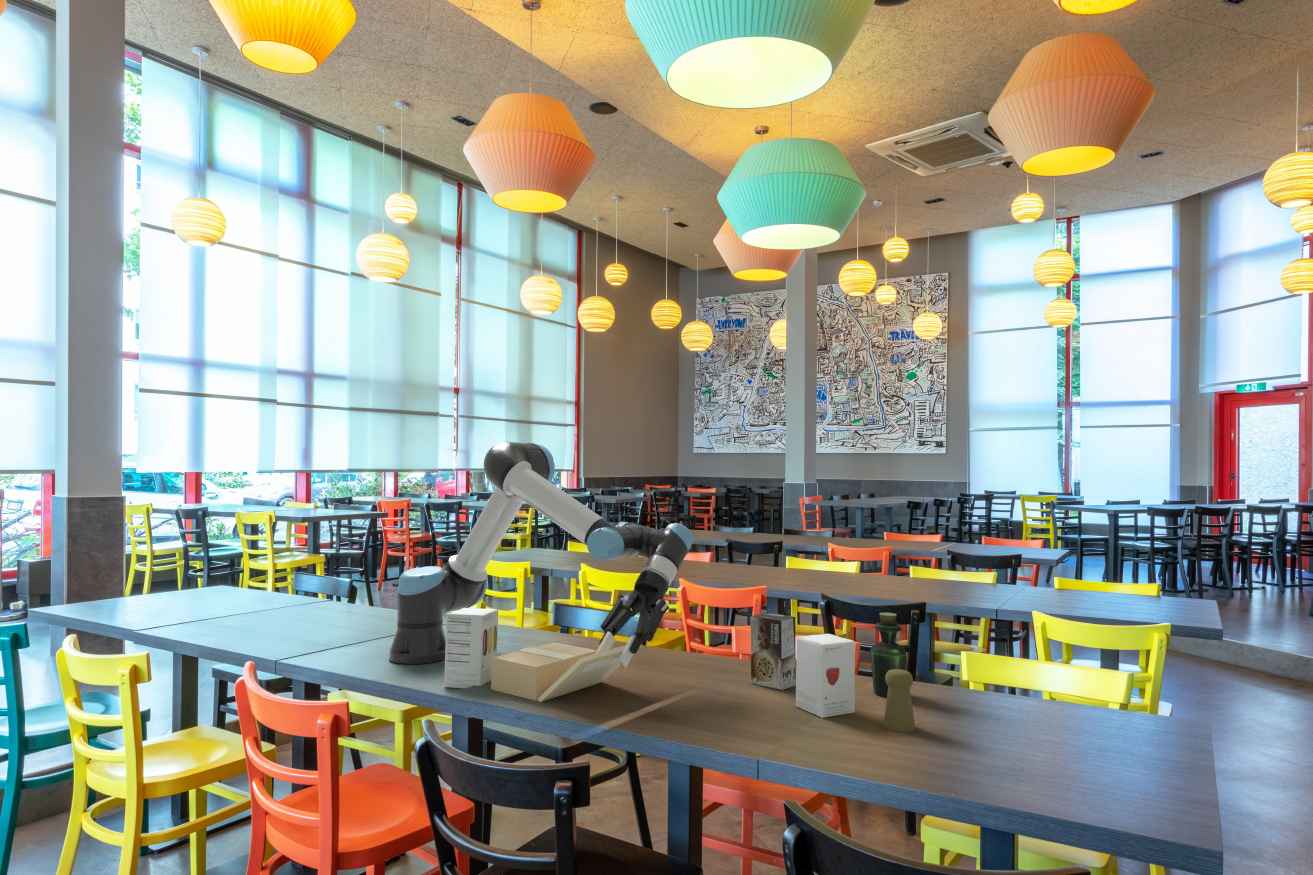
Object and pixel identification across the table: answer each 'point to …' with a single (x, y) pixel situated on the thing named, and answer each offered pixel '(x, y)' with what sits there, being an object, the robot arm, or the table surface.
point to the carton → (534, 668)
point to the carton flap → (585, 673)
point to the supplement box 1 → (470, 646)
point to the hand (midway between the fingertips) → (609, 661)
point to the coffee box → (773, 650)
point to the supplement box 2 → (825, 675)
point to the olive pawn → (899, 701)
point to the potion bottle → (886, 653)
